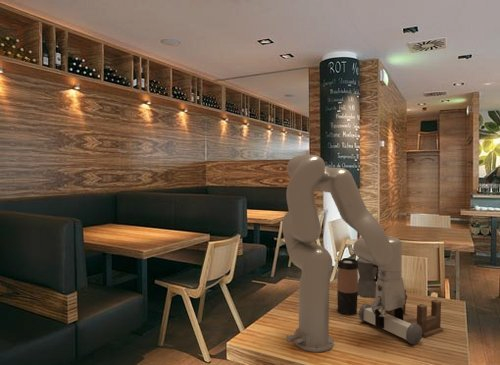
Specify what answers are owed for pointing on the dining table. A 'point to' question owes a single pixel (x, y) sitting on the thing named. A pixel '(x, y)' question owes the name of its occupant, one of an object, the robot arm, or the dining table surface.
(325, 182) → the robot arm
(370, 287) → the coffeepot
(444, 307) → the dining table surface
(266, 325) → the dining table surface
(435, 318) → the walnut rack
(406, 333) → the white bar grey caps
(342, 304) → the travel mug
